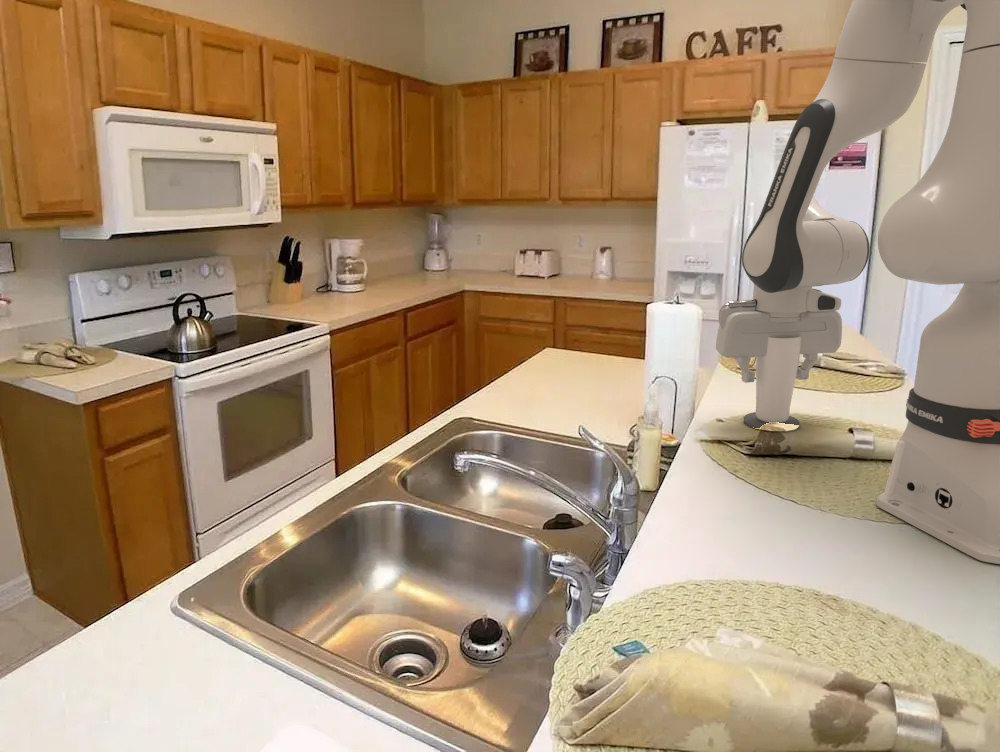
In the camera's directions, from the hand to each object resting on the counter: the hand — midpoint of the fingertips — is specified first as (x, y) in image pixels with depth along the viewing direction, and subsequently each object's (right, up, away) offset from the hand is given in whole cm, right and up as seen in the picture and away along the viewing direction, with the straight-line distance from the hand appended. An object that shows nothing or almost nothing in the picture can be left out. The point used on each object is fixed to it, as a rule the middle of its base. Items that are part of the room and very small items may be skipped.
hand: (774, 380), depth 116 cm
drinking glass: (0, -7, +2) cm, 7 cm away
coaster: (0, -7, +2) cm, 8 cm away
